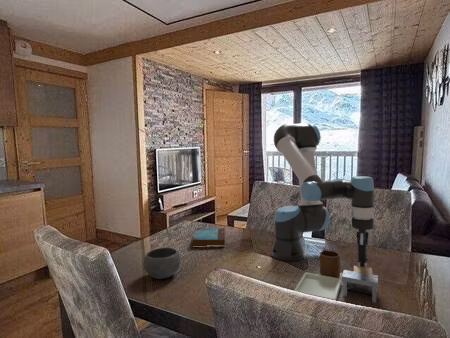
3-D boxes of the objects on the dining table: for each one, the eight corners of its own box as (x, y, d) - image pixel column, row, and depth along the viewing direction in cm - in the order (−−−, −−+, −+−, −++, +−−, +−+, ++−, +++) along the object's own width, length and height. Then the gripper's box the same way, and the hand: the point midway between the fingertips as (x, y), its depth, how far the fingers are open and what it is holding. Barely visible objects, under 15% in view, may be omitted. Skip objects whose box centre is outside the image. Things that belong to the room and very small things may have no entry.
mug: (315, 267, 122) (315, 246, 122) (333, 268, 122) (333, 246, 121) (322, 280, 110) (322, 257, 110) (342, 281, 110) (342, 257, 109)
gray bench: (341, 295, 99) (341, 276, 98) (344, 285, 106) (344, 267, 106) (377, 303, 93) (377, 282, 93) (378, 291, 101) (378, 272, 100)
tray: (293, 296, 99) (293, 290, 99) (305, 276, 114) (305, 272, 114) (335, 305, 93) (335, 299, 93) (341, 283, 107) (341, 278, 107)
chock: (353, 285, 106) (354, 272, 104) (353, 278, 109) (353, 265, 107) (371, 288, 103) (372, 275, 101) (370, 280, 107) (371, 267, 105)
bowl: (163, 287, 108) (162, 262, 108) (137, 279, 116) (135, 255, 116) (188, 272, 121) (187, 249, 120) (162, 265, 129) (161, 244, 128)
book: (224, 248, 151) (224, 239, 151) (191, 249, 151) (191, 239, 151) (225, 235, 174) (225, 227, 174) (196, 236, 174) (196, 228, 174)
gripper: (373, 222, 100) (373, 287, 101) (374, 214, 111) (374, 273, 112) (350, 220, 103) (350, 283, 105) (353, 212, 114) (353, 269, 116)
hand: (362, 277), depth 109 cm, fingers closed
